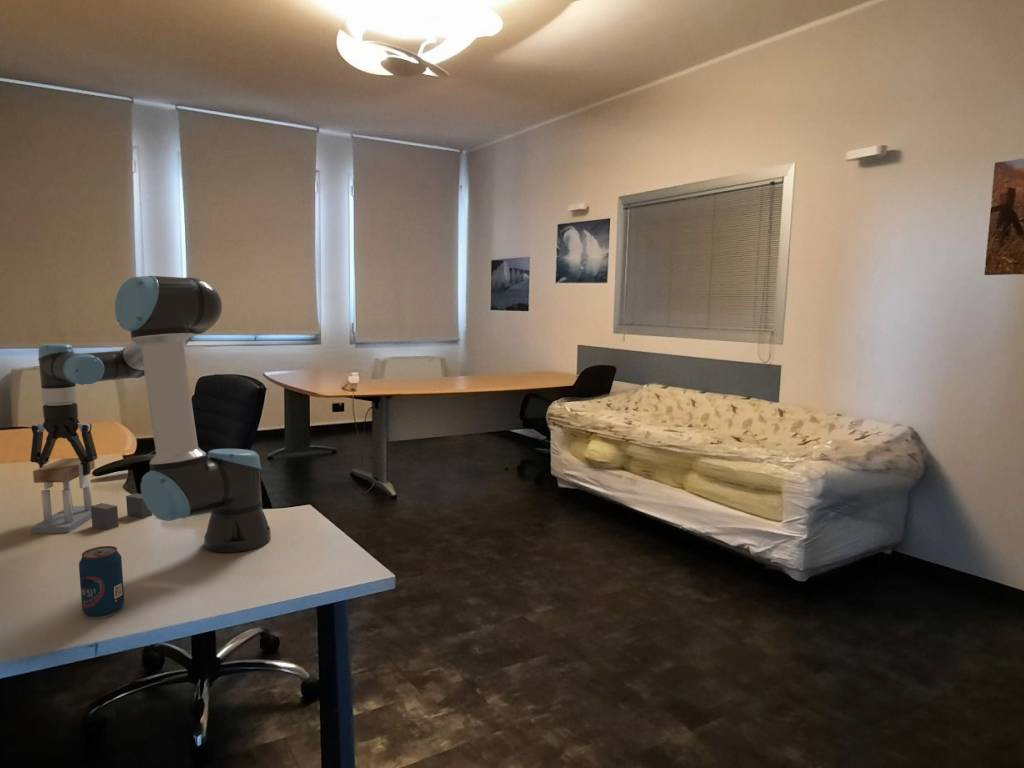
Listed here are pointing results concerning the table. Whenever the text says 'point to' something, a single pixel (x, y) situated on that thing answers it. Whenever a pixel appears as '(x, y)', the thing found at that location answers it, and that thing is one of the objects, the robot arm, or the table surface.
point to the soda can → (101, 582)
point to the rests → (108, 514)
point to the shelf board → (59, 471)
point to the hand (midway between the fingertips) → (66, 487)
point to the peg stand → (64, 512)
